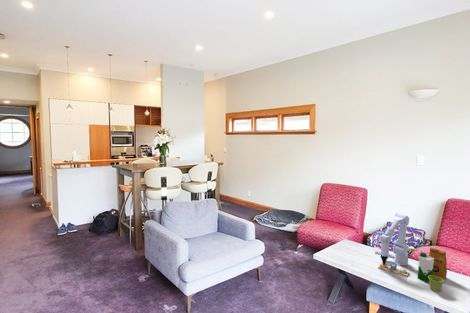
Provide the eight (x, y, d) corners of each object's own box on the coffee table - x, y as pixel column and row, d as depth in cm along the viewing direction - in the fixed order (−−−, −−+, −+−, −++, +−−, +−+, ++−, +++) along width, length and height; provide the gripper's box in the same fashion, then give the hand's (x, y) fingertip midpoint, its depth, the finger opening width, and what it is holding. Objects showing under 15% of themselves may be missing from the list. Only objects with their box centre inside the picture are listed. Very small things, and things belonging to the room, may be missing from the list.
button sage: (406, 273, 223) (406, 269, 222) (405, 275, 220) (405, 271, 219) (400, 271, 225) (400, 268, 225) (399, 273, 222) (400, 269, 222)
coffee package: (443, 281, 211) (445, 253, 210) (425, 274, 222) (427, 248, 220) (448, 278, 217) (450, 251, 215) (430, 271, 227) (432, 245, 226)
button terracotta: (387, 267, 232) (387, 264, 231) (386, 269, 229) (386, 265, 228) (381, 266, 234) (382, 262, 234) (380, 267, 231) (380, 264, 231)
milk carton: (421, 275, 220) (423, 251, 219) (434, 280, 212) (436, 255, 211) (415, 277, 216) (417, 253, 215) (427, 283, 208) (429, 258, 207)
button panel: (408, 273, 223) (408, 271, 223) (407, 277, 217) (407, 275, 217) (380, 265, 237) (380, 263, 237) (378, 268, 231) (378, 266, 231)
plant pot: (424, 286, 203) (424, 275, 203) (435, 286, 204) (436, 275, 204) (434, 293, 194) (435, 282, 194) (446, 293, 195) (447, 281, 194)
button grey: (396, 269, 227) (396, 265, 227) (395, 270, 224) (395, 267, 224) (391, 267, 230) (391, 264, 229) (390, 269, 227) (390, 265, 226)
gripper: (374, 247, 232) (373, 263, 233) (393, 252, 223) (392, 268, 224) (376, 245, 237) (375, 260, 238) (395, 250, 228) (394, 265, 229)
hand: (384, 264), depth 231 cm, fingers closed, pressing on button terracotta
